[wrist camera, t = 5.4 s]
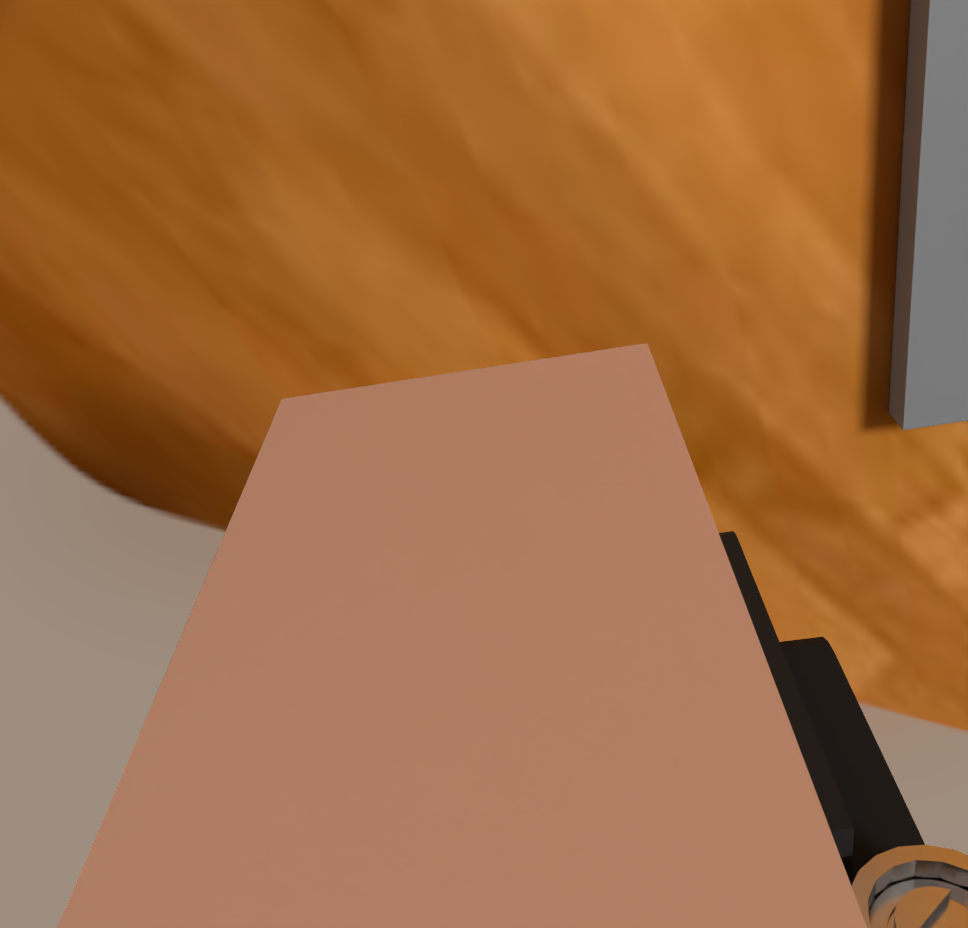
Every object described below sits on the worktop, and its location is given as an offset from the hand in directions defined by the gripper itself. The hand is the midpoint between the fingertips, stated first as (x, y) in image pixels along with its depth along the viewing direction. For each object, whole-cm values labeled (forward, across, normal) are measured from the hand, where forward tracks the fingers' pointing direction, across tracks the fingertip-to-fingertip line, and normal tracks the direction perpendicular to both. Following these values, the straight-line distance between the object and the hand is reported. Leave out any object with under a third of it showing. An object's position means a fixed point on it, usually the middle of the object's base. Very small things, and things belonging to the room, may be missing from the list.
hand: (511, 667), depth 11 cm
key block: (+1, 0, 0) cm, 1 cm away
